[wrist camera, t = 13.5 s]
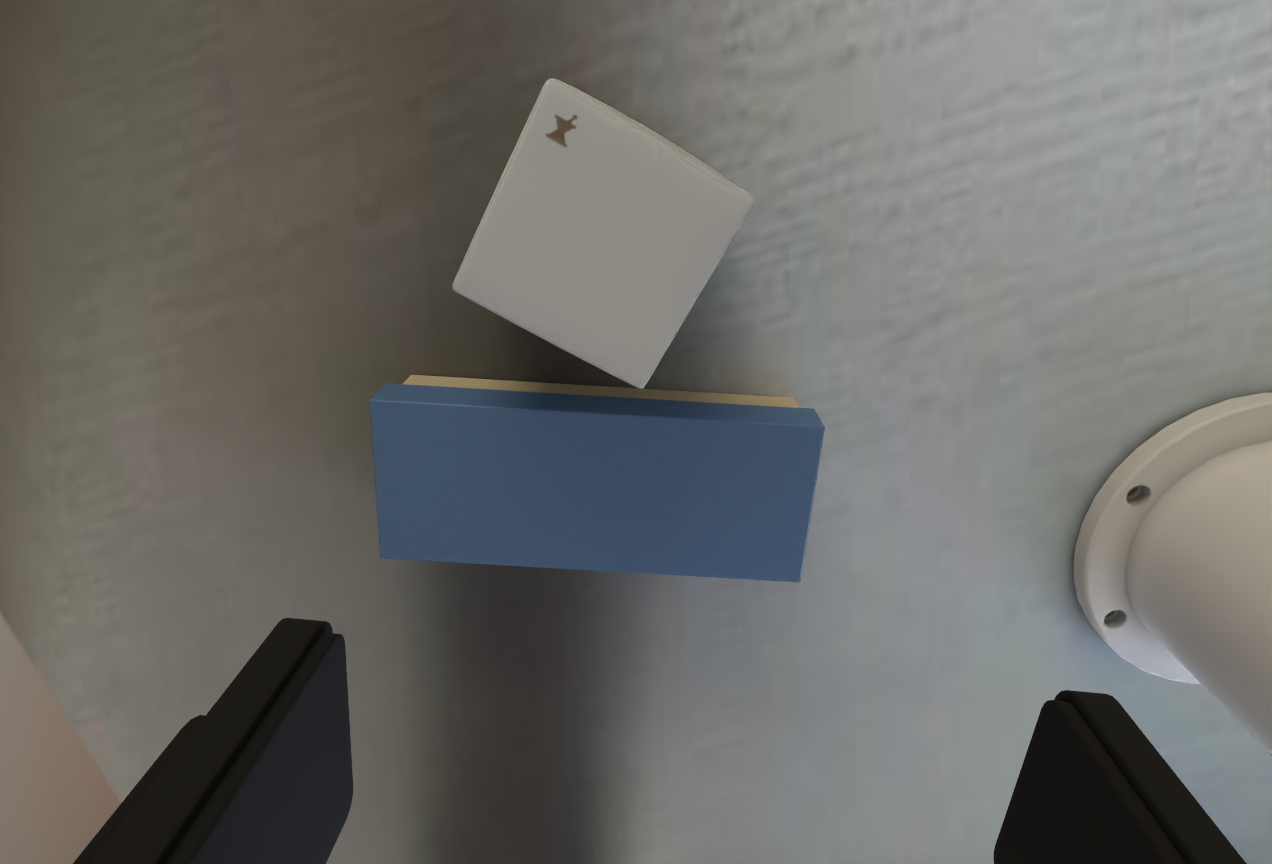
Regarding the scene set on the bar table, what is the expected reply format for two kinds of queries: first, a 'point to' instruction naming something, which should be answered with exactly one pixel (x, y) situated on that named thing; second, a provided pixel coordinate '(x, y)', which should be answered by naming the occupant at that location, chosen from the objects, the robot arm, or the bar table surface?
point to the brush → (594, 477)
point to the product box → (600, 234)
